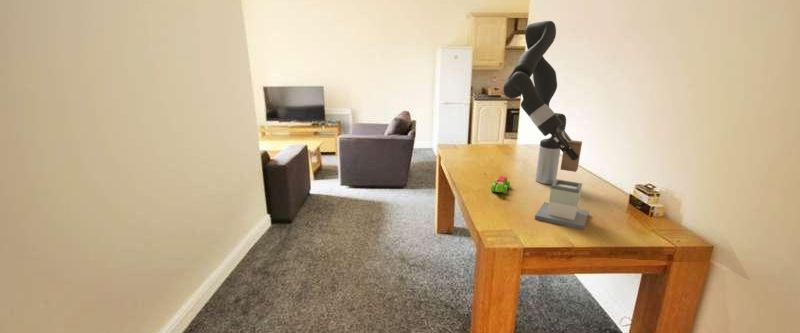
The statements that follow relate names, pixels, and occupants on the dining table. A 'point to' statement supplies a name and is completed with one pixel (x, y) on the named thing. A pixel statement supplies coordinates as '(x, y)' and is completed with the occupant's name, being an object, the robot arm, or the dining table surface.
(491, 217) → the dining table surface
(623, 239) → the dining table surface
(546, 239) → the dining table surface
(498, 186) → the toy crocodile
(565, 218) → the tower
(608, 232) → the dining table surface
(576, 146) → the walnut brick
